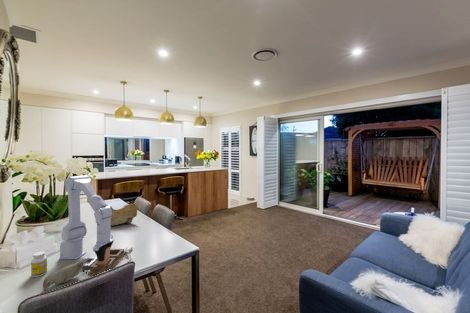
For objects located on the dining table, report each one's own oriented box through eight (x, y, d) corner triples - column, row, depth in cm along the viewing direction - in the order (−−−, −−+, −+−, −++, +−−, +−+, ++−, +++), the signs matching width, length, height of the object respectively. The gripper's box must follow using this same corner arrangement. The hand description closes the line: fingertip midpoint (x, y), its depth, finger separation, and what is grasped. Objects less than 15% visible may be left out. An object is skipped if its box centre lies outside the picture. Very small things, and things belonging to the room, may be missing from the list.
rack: (87, 274, 102) (87, 267, 102) (108, 253, 122) (109, 248, 122) (107, 274, 103) (108, 267, 103) (125, 253, 123) (125, 248, 123)
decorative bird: (41, 288, 92) (41, 270, 92) (84, 271, 105) (85, 256, 105) (45, 293, 89) (45, 275, 88) (89, 275, 102) (89, 259, 101)
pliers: (108, 261, 112) (120, 247, 127) (108, 264, 112) (120, 250, 127) (128, 260, 113) (138, 246, 128) (128, 263, 113) (138, 249, 128)
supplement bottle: (28, 275, 100) (28, 254, 99) (42, 269, 105) (42, 249, 104) (35, 278, 98) (35, 257, 97) (49, 272, 103) (49, 251, 102)
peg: (96, 266, 105) (97, 250, 105) (101, 262, 109) (101, 246, 109) (105, 266, 106) (105, 250, 105) (109, 262, 110) (109, 246, 109)
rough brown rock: (137, 218, 184) (137, 201, 184) (137, 223, 168) (137, 204, 169) (105, 222, 174) (105, 203, 175) (102, 228, 159) (102, 207, 160)
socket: (72, 268, 106) (72, 265, 106) (82, 260, 114) (82, 257, 114) (89, 268, 107) (89, 265, 107) (98, 260, 115) (98, 257, 115)
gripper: (104, 237, 100) (104, 266, 100) (118, 226, 114) (118, 251, 115) (88, 237, 99) (88, 266, 100) (104, 226, 114) (104, 251, 114)
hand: (103, 258), depth 107 cm, fingers open, 4 cm apart
